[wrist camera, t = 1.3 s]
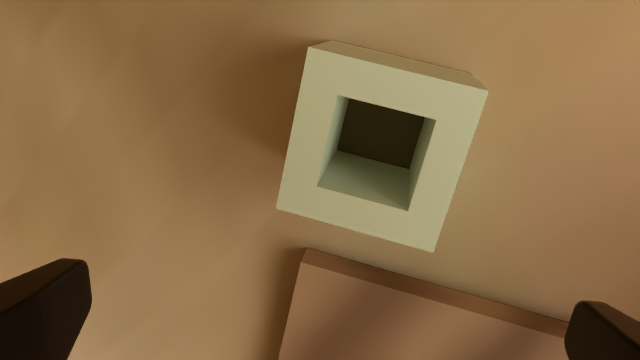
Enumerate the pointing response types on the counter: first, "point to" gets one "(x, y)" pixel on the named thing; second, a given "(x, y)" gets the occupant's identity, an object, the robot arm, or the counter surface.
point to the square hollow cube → (369, 175)
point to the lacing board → (405, 319)
